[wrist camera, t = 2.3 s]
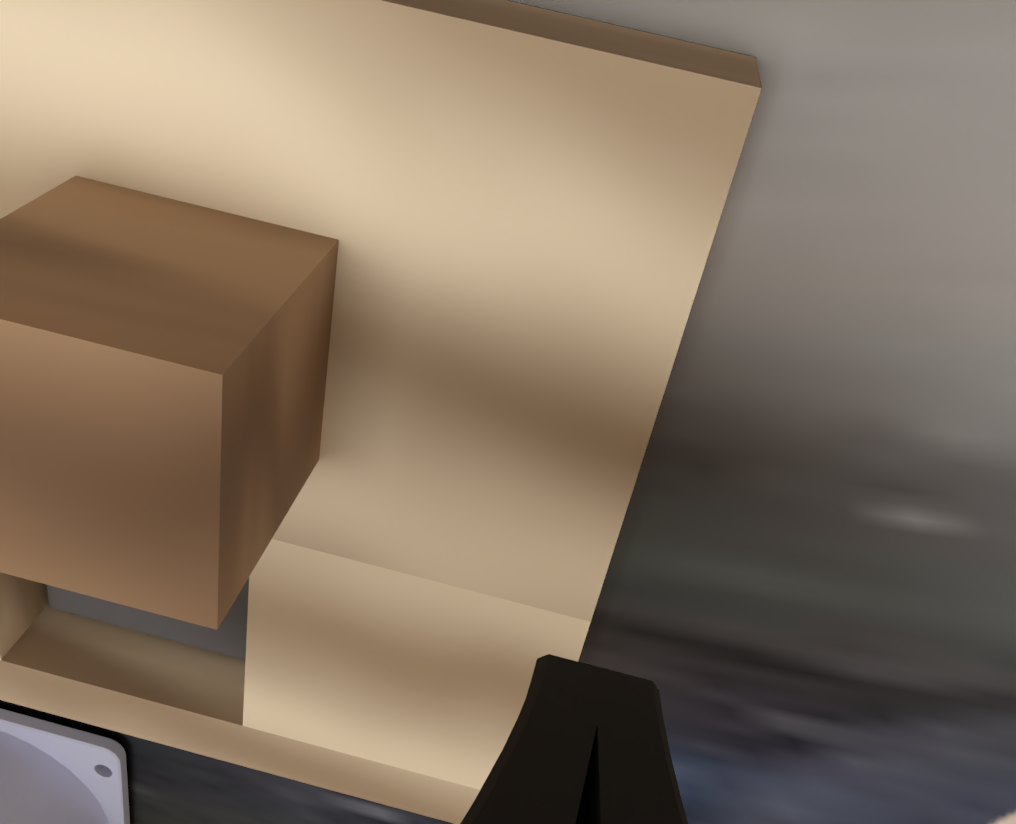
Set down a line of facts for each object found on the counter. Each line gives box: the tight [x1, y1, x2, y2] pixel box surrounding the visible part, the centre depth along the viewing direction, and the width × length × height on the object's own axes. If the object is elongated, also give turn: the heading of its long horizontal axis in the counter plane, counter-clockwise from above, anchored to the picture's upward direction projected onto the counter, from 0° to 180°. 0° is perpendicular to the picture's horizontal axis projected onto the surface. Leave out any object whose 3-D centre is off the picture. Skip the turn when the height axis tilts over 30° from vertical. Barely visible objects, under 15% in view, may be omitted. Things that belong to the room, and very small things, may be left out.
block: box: [0, 176, 339, 630], centre depth 15 cm, size 4×4×4 cm
